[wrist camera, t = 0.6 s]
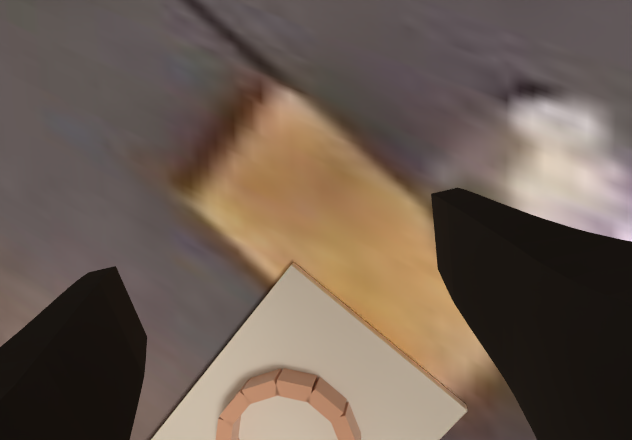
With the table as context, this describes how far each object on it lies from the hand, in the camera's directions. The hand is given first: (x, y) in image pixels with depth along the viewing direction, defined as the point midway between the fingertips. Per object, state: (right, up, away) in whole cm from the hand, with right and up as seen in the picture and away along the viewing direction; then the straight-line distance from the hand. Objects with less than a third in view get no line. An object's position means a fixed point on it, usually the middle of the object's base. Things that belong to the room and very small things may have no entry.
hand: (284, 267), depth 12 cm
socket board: (-1, -13, +23) cm, 26 cm away
